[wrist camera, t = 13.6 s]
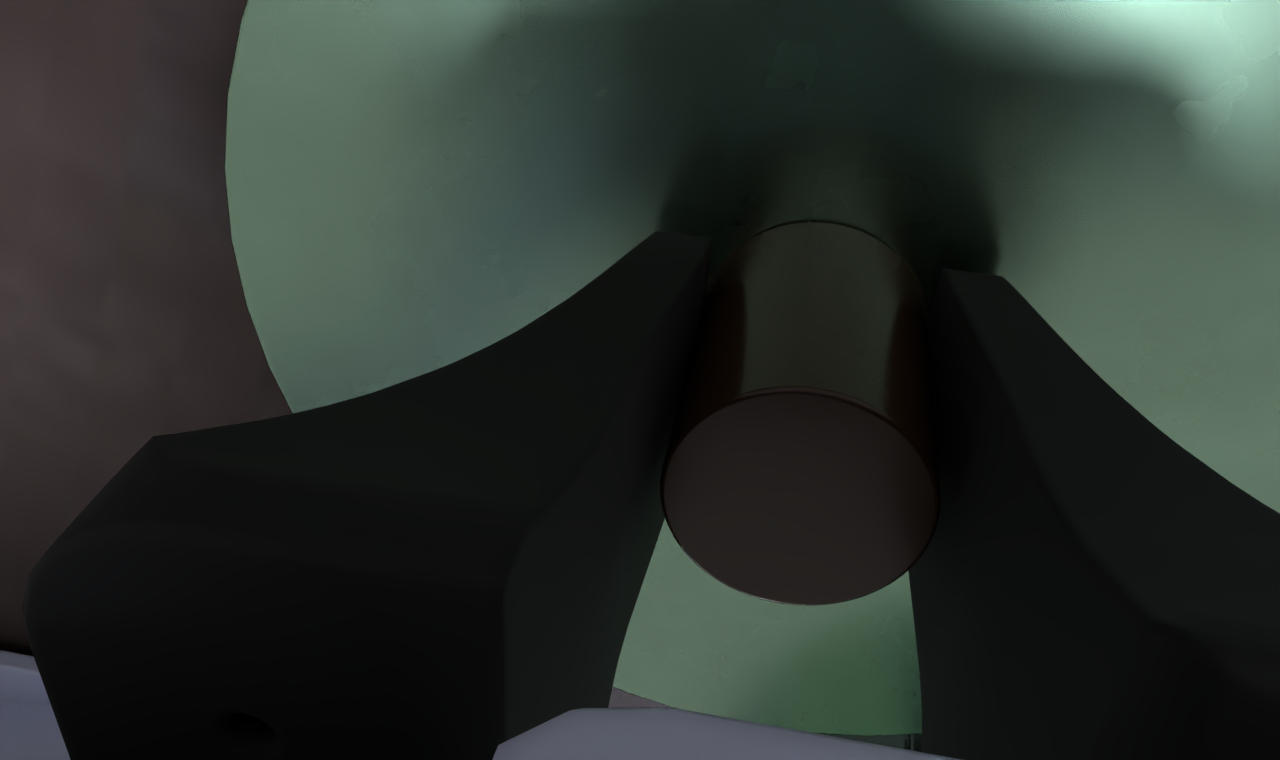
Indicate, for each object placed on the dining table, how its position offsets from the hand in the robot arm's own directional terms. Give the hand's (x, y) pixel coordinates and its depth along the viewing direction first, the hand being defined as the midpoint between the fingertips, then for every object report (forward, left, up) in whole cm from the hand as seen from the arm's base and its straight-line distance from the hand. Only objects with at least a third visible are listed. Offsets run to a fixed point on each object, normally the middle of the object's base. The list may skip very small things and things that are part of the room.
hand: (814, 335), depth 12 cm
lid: (0, 0, -1) cm, 1 cm away
